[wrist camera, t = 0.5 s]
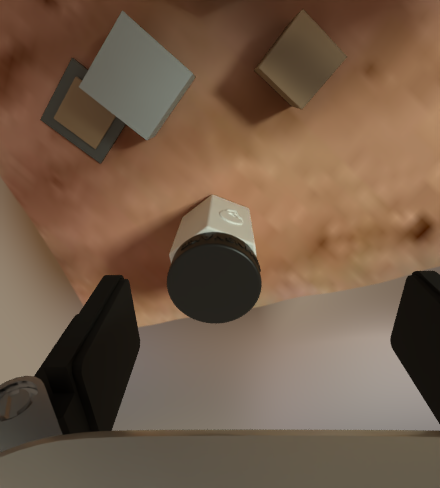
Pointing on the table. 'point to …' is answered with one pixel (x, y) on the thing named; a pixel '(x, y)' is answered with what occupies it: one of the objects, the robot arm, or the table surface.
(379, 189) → the table surface
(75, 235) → the table surface
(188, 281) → the jar
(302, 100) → the walnut cube
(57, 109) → the swatch
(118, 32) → the grey base block
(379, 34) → the table surface
